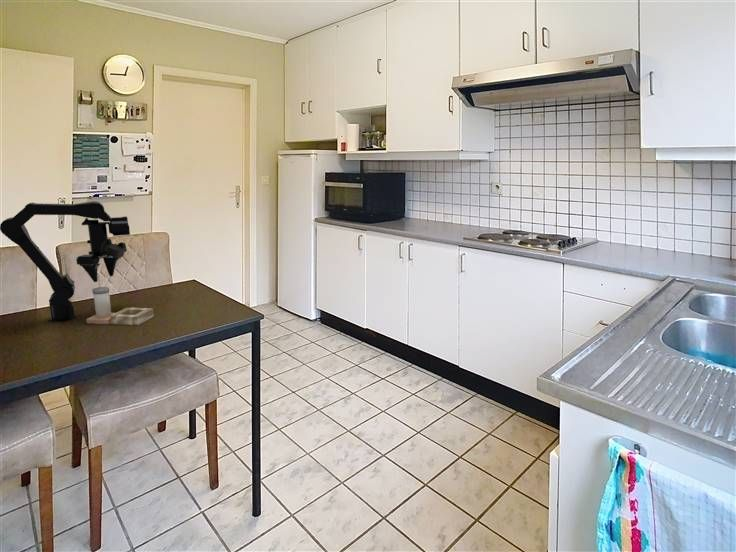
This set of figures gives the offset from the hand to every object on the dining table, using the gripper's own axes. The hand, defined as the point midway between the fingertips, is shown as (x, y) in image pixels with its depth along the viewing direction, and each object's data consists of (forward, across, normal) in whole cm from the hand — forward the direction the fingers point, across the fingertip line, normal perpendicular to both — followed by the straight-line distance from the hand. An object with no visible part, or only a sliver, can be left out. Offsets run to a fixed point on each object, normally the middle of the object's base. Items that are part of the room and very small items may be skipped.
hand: (103, 278), depth 178 cm
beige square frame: (+13, -7, -14) cm, 20 cm away
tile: (+13, -8, -4) cm, 16 cm away
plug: (+12, -8, -4) cm, 15 cm away
